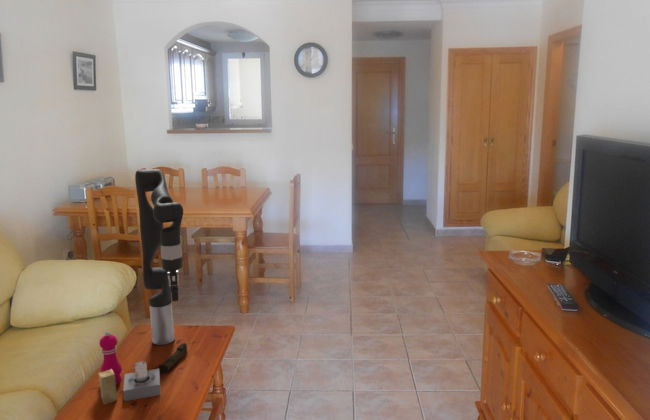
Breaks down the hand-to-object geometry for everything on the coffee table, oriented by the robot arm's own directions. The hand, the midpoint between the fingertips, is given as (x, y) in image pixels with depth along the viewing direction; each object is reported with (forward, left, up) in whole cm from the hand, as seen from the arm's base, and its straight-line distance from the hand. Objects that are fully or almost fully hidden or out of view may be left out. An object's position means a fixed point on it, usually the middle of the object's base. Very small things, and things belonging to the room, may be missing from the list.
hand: (174, 296), depth 191 cm
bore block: (+11, -14, -30) cm, 34 cm away
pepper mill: (+1, -24, -30) cm, 39 cm away
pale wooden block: (+14, -25, -30) cm, 41 cm away
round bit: (+11, -14, -30) cm, 34 cm away
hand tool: (-7, -2, -30) cm, 31 cm away
